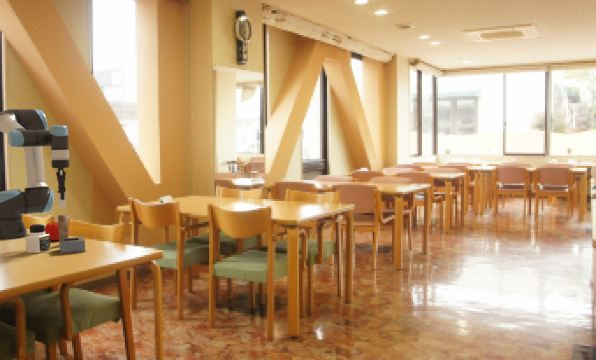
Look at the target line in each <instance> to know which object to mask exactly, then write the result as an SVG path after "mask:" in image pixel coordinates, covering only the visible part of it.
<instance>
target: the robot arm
mask: <svg viewBox="0 0 596 360" xmlns="http://www.w3.org/2000/svg"><path fill="white" fill-rule="evenodd" d="M0 132H1V133H3V134H5V135H6V136H7V139H8V141H7V142H8V144H9V146H10V147H12V148H23V149H24V151H23V152H24V163H25V173H26V175H25V176H26V183H27V184H26V185H25V187H24V188H23V189H24V191H22V190H21V189H20V188H15V189H14V188H13V189H7V190H2V191H0V239H1V240H3V239H4V240H5V239H16V238H23V237H26V236H27V235H28V230H27V228H26V226H25V223H24V221H23V215H31V214H43V213H48V212H50V211H51V210H52V209H53V207H54V201H55V195H54V194H55V193H54V191H53V189H50V186H49V184H47V183H46V176H45V163H44V153H43V152H44V151H43V147H50V152H49V155H51V156H50V158H51V159H52V160H51V168H52V169H57V171H56V173H55V175H56V180H57V182H58V184H57V185H58V186H57V190H56V191H57V194H58V205H59V208H66V207H67V198H66V190H67V188H66V176H67V172H66V171H65V170H64V169H68V168H70V160H69V158H70V150H69V131H68V126H67V125H62V124H61V125H58V124H57V125H50V126H49V130H48V120H47V117H46V114H45V112H44V111H43V110H40V109H33V108H32V109H31V108H29V109H26V108H25V109H24V108H23V109H22V108H21V109H19V108H8V109H5V110H3V111H1V112H0Z"/></svg>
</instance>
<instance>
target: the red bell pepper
mask: <svg viewBox="0 0 596 360" xmlns="http://www.w3.org/2000/svg"><path fill="white" fill-rule="evenodd" d="M44 234H50V241H59V226H58V221H52V222H51V223H50V222H49V223H47V224H46V225H45V233H44Z"/></svg>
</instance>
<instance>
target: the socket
mask: <svg viewBox="0 0 596 360" xmlns="http://www.w3.org/2000/svg"><path fill="white" fill-rule="evenodd" d="M58 241H60V246H59V254H60V255H63V254H74V253H85V252H86V240H85V237H84V236H77V237H76V236H75V237H73V236H72V237H68V238H60V239H59V240H58Z"/></svg>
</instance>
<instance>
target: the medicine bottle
mask: <svg viewBox="0 0 596 360" xmlns="http://www.w3.org/2000/svg"><path fill="white" fill-rule="evenodd" d="M45 227H46V225H45V224H43V223H34V224H31V225H30V226H29V235H28V236H27V235H26V236H24V237H25V253H28V254H43V253H45V252H49V251H50V250H51V240H50V234H45Z"/></svg>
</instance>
